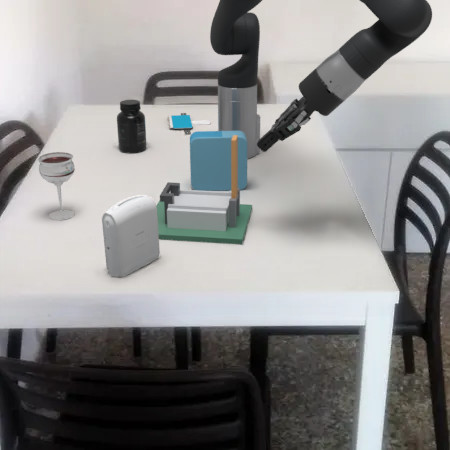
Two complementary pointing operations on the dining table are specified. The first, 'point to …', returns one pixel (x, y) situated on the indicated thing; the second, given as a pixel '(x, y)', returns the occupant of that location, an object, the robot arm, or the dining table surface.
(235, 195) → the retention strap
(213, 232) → the processor board
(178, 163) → the dining table surface
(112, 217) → the photo printer
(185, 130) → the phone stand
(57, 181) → the wineglass
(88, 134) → the dining table surface
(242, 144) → the blue rounded block
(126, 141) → the supplement bottle
